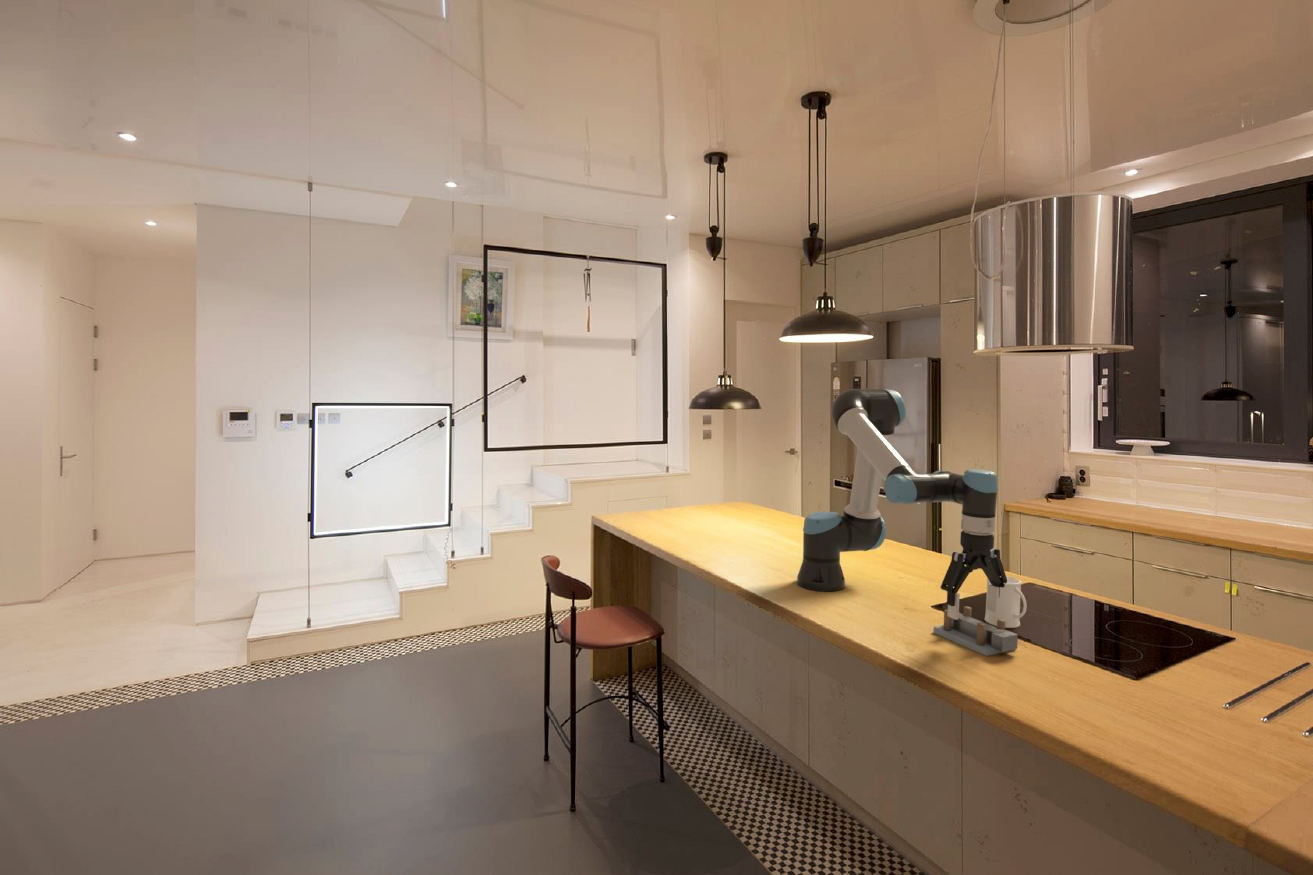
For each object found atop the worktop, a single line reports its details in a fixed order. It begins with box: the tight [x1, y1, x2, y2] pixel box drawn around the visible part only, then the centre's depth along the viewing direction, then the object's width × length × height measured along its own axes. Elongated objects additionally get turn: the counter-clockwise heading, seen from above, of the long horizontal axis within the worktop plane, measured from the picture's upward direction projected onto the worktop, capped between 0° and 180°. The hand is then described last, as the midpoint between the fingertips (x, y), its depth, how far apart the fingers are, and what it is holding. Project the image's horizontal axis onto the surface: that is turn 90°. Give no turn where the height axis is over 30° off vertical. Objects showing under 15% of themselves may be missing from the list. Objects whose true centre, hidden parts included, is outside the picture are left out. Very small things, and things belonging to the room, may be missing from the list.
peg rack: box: [932, 606, 1017, 657], centre depth 159 cm, size 16×10×6 cm, turn 22°
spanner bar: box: [951, 612, 1019, 653], centre depth 157 cm, size 18×5×4 cm, turn 22°
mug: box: [984, 575, 1028, 629], centre depth 170 cm, size 12×8×12 cm
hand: (972, 614), depth 159 cm, fingers open, 13 cm apart
